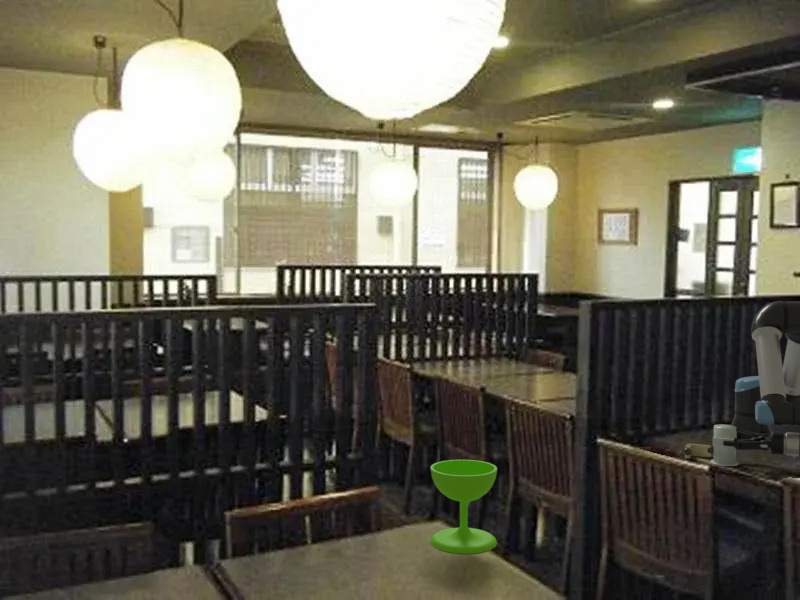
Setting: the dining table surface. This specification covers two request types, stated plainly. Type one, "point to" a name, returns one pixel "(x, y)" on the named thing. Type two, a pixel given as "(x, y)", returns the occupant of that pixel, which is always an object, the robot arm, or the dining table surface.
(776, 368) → the robot arm
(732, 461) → the tall sage cylinder
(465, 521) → the wineglass
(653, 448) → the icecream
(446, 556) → the dining table surface
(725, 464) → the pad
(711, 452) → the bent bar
